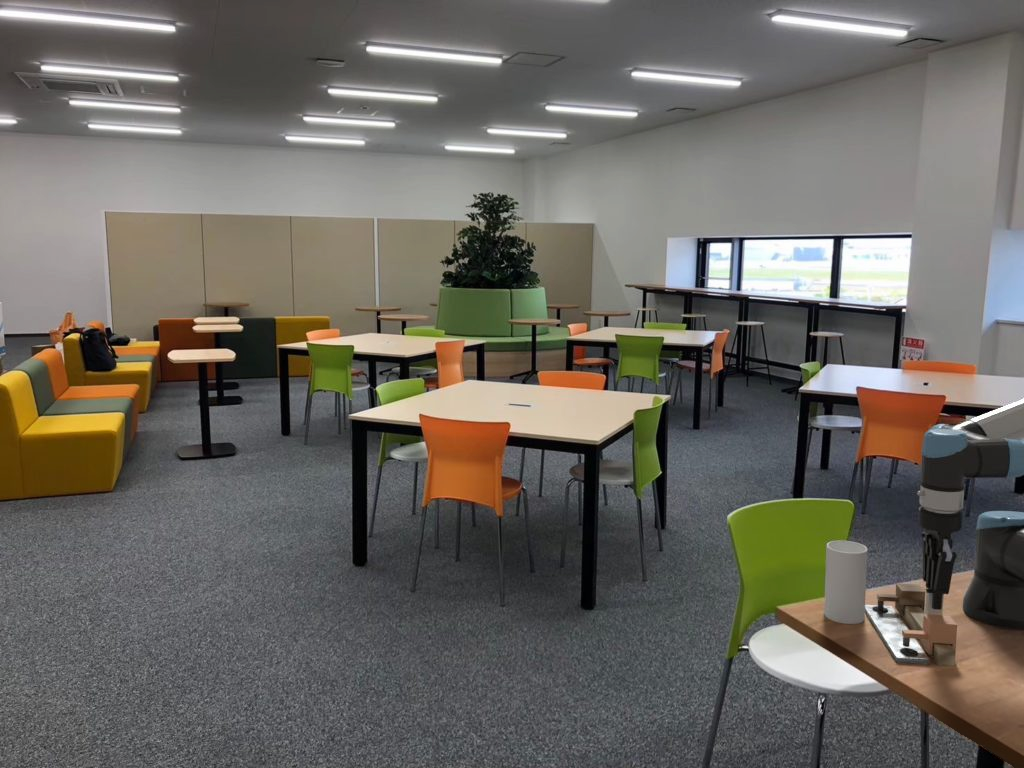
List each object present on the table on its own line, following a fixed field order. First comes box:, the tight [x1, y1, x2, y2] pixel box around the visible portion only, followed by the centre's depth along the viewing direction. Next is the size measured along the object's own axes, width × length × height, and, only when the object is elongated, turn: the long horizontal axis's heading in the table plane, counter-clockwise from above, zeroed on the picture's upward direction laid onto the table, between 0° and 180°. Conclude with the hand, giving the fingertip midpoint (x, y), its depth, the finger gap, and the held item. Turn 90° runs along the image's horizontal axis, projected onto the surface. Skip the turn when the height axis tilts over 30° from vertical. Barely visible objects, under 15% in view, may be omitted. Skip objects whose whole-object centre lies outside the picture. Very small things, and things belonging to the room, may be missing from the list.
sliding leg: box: [902, 614, 958, 655], centre depth 155 cm, size 9×4×6 cm, turn 80°
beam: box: [901, 605, 957, 667], centre depth 163 cm, size 3×25×3 cm, turn 170°
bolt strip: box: [865, 604, 931, 665], centre depth 164 cm, size 6×25×1 cm, turn 170°
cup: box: [823, 540, 868, 625], centre depth 172 cm, size 8×8×16 cm
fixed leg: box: [876, 583, 926, 616], centre depth 173 cm, size 9×4×6 cm, turn 80°
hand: (933, 621), depth 157 cm, fingers closed
